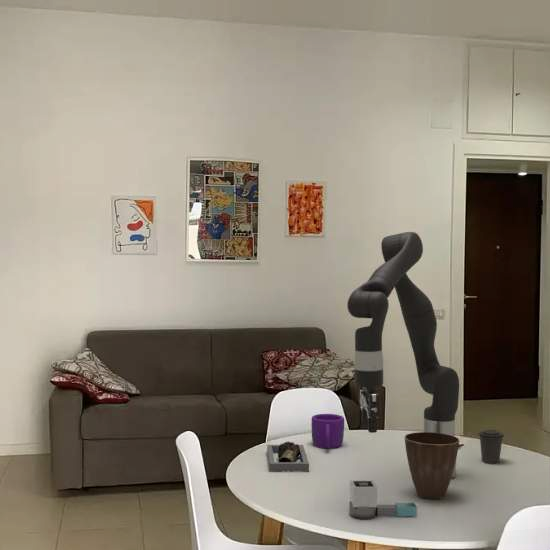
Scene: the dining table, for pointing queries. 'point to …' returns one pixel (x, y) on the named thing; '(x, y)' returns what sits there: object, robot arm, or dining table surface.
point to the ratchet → (382, 509)
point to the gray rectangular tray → (287, 465)
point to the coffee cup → (490, 446)
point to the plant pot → (431, 462)
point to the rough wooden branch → (288, 452)
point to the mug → (327, 430)
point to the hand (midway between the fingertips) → (369, 428)
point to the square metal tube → (363, 494)
